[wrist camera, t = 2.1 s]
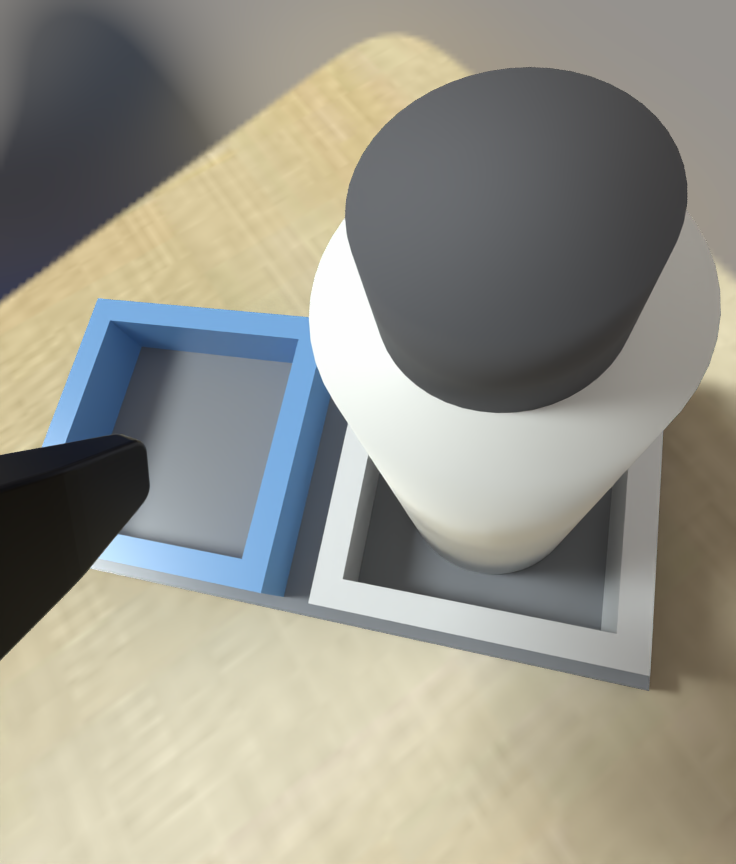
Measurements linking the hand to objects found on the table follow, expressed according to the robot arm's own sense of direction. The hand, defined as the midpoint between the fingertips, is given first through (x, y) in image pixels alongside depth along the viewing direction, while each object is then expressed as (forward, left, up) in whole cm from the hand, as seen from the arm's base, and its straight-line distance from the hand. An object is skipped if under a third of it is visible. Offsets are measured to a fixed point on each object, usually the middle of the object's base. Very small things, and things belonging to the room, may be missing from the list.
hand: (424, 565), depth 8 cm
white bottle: (+3, +1, -10) cm, 11 cm away
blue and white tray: (+1, +5, -11) cm, 12 cm away
